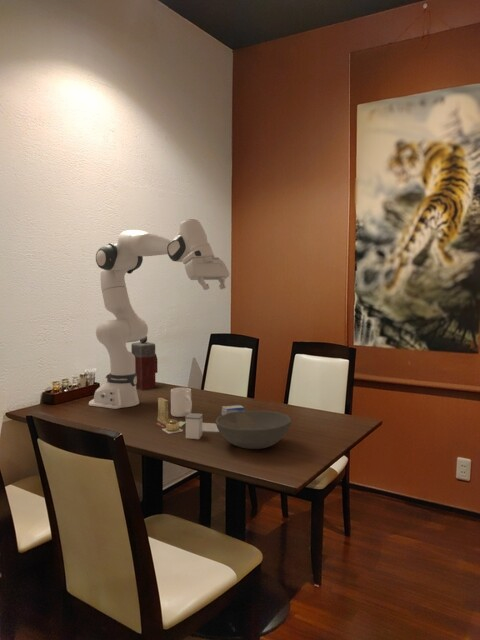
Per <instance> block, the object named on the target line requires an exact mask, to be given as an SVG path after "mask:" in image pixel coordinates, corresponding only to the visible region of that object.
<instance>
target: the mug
mask: <svg viewBox="0 0 480 640" xmlns="http://www.w3.org/2000/svg"><path fill="white" fill-rule="evenodd" d="M192 407H193V402H192V389H191V388H189V387H175V388H171V389H170V414H171V416H173V417H175V418H185V417H186V416H187V415H188V414H189V413H192Z"/></svg>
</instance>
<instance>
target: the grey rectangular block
mask: <svg viewBox="0 0 480 640" xmlns="http://www.w3.org/2000/svg"><path fill="white" fill-rule="evenodd" d="M203 416H204V414H203V413H194V412H191V413H189V414H188V415H187V416H185V417H184V419H185V422H186V423H185V439H192V440H193V439H194V440H200V439H201V437H202V436H203V432H202V423H203Z"/></svg>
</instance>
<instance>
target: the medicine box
mask: <svg viewBox="0 0 480 640" xmlns="http://www.w3.org/2000/svg"><path fill="white" fill-rule="evenodd" d="M240 411H246V410H245V407H244V406H242V405H241V404H236V405H226V406H225V405H224V406H221V416H222V415H225V414H228V413H231V412H240Z"/></svg>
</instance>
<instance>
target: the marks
mask: <svg viewBox="0 0 480 640" xmlns="http://www.w3.org/2000/svg"><path fill="white" fill-rule="evenodd" d="M178 422H179V430H177V431H167V430H166V425H165V424H163V423H161V422H157V423H156V425H158V426H159V427H160V428H161V431H163V432H165V433H167V434H169V435H170V434H175V433H181V432H184V430H183V429H181V428H182V427H183V426H185V425H186V421H178Z"/></svg>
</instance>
